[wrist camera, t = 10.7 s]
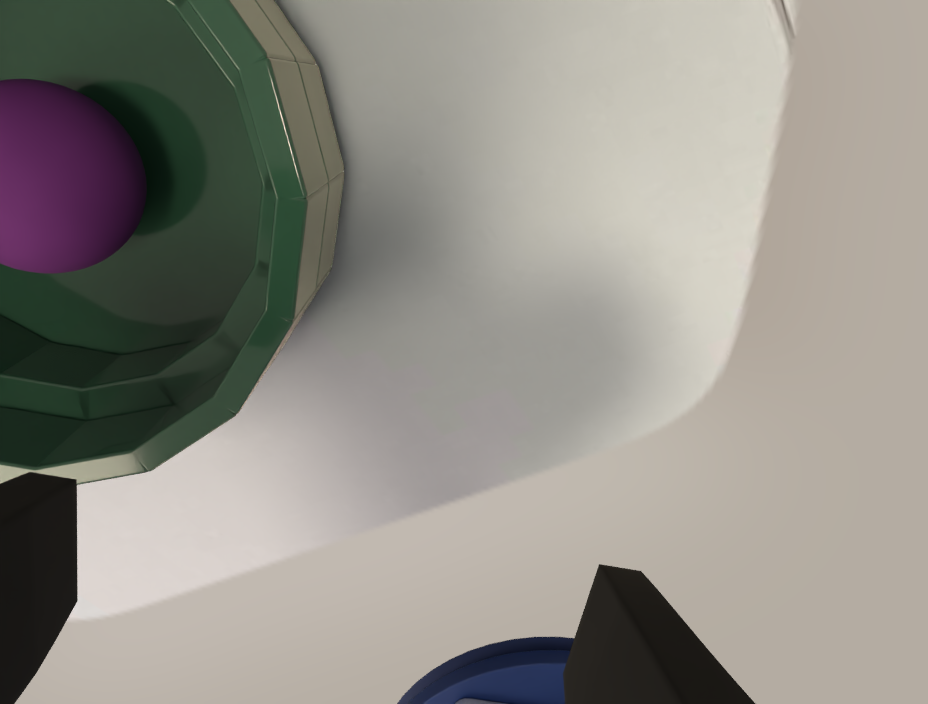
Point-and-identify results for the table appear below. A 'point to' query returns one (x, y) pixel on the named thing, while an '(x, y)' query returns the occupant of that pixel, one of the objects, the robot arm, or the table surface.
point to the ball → (64, 179)
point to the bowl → (169, 231)
